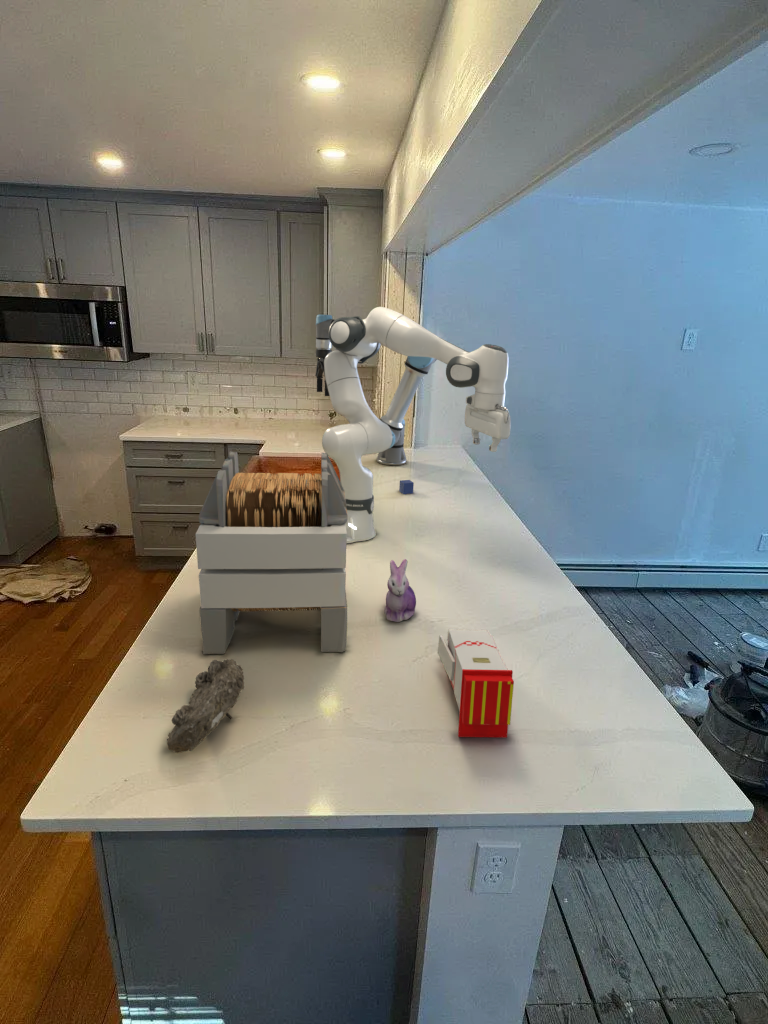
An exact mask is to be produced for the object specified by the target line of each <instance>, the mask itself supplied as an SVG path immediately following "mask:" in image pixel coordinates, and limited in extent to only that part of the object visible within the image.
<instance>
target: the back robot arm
mask: <svg viewBox="0 0 768 1024" xmlns="http://www.w3.org/2000/svg"><path fill="white" fill-rule="evenodd" d="M335 320H336V319H333V315H332V314H317V315H316V318H315V348H316V349H315V357H316V358H317V359H316V360H317V361H316V362H317V363H316V367H315V374H314V375H315V377H316V393H323V385H324V397H330V395H329V391H328V387H327V383H326V378H325V370H324V359H325V357H326V356H327V355H328V354H329V353H330V352H332V351H333V350H332V347H333V345H332V344H331V342H330V340H329V337H328V332H329V328H330V326H331V324H332V323H333V322H334V321H335ZM381 346H383V347H384V348H387V347H386V346H384V345H382V344H381ZM404 361H405V362H404V367H405V369H404V372H403V374H402V377H401V378H400V381H399V382H398V385H397V387H396V390H395V393H394V395H393V397H392V399H391V401H390V403H389V406H388V408H387V410H386V413H385V414H383V415H381V416H380V418H379V419H380V420H381V421H382V422H384V423H386V424H387V425H388V426H389V427H390V429H391V431H392V436H393V439H392V444H391V446H390V447H389V448H388V449H387V450H385V451H382V452H380V453H377V456H376V463H378V464H380V465H383V466H395V467H396V466H403V465H406V464H407V455H406V451H405V447H404V446H405V429H406V428H405V427H406V420H405V419H404V418H405V416H406V414H407V412H408V410H409V408H410V405H411V404H412V401H413V399H414V397H415V394H416V392H417V390H418V388H419V386H420V384H421V382H422V379H423V377H425V376H428V374H429V372H430V370H431V367H432V365H433V364H434V363H435V362H436V361H437V359H434V358H430V357H419V356H406V359H405V360H404ZM323 379H324V382H323ZM323 383H324V384H323Z"/></svg>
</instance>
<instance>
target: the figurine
mask: <svg viewBox="0 0 768 1024" xmlns="http://www.w3.org/2000/svg"><path fill="white" fill-rule="evenodd" d="M407 567H408V559H406V558H404V559H403V560H402V561H401V563H400V565H399V566H398V565H397V563H396V562H395V561H394V560H393V559H391V560H390V561H389V570H390V576H389V578H388V579H387V589H388V591H387V592H386V594H385V595H386V596H385V607H384V615H385V616H386V620H387V621H391V622H395V623H400V622H402V621H406V620H409V619H410V618H411V617H413V616H414V615H415V610H416V606H417V597H416V593H415V591H414V590H413V587H411V586H410V582H409V579H408V577H407V574H406V571H407Z"/></svg>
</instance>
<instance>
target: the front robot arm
mask: <svg viewBox="0 0 768 1024" xmlns="http://www.w3.org/2000/svg"><path fill="white" fill-rule="evenodd" d="M334 320H335V321H334V322H333V323H332V324H331V326H330V328H329V332H328V337H329V340H330V342H331V344H332V347H334V348H335V350H332V352H330V353H329V354H328V355H327V356H326V357H325V359H324V370H325V376H324V379H325V378H326V383H327V387H328V391H329V395H330V396H329V398H330V403H331V407H332V409H333V411H334V412H335V413H336V414H337V415H340V416H341V417H344V418H345V419H346V421H347V422H348V423H344V424H337V425H335V426H332V427H329V428H327V429H325V431H324V432H323V435H322V437H321V447H322V449H323V452H324V453H327V454H328V457H329V459H332V461H333V462H334V463H335V465H336V466H337V470H338V472H339V480H340V482H341V484H342V487H343V489H344V491H345V499H346V506H347V514H348V519H347V523H345V524H346V532H347V541H346V544H352V543H357V542H365V541H368V540H372V539H373V538H375V537H376V535H377V532H376V528H375V523H374V513H373V512H374V509H375V496H374V474H373V472H372V471H371V469H369V468H368V467H366V466H364V465H363V463H362V457H364V456H370V455H371V456H372V455H378V453H380V452H382V451H385V450H387V449H388V448H389V447H390V446H391V444H392V439H393V436H392V431H391V429H390V427H389V426H388V425H387V424H386V423H384V422H382V421H381V420H380V418H379V417H377V415H376V414H375V412H373V410H372V409H371V407H370V406H369V403H368V402H367V400H366V397H365V393H364V390H363V386H362V383H361V379H360V375H359V370H358V364H359V365H360V364H361V365H363V364H364V363H366V361H367V360H369V359H371V358H373V357H374V356H375V355H377V353H378V352H379V351H380V349H381V346H382V345H384V346H383V347H385V346H386V347H385V348H387V349H389V350H391V351H392V352H394V353H397V354H398V355H403V356H405V357H407V356H419V357H430V358H434V359H437V360H438V361H440V362H441V363H443V364H445V365H446V367H445V376H446V379H447V381H448V383H449V384H450V385H451V386H453V387H455V388H459V389H465V388H471V387H473V388H474V389H475V390H474V394H472V395H467V396H466V397H465V404H466V406H465V410H464V426H465V428H469V429H471V430H470V431H471V436H472V444H473V445H481V438H480V435H479V434H480V433H481V434H483V435H486V436H489V437H491V441H492V442H491V444H489V446H488V449H489V450H488V451H489V452H492V453H497V451H498V446H499V444H500V443H501V440H508V439H509V438H510V435H511V421H512V420H511V415H510V412H509V409H508V408H507V406H505V399H506V383H507V380H508V374H509V353H508V351H507V350H506V348H504V347H502V346H499V345H496V344H491V343H484V344H482V345H481V346H480V347H478V348H476V349H474V350H472V351H469V350H465V348H464V349H463V348H461V347H459V346H457V345H455V344H454V343H451V342H450V341H448V340H445V339H443V338H441V337H440V336H438V335H436V334H435V333H433V332H432V331H430V330H429V329H427V328H425V327H424V326H423V325H421V324H419V323H418V322H416V321H414V320H413V319H411V318H410V317H408V316H407V315H405V314H403V313H400V312H399V311H396V310H394V309H391V308H388V307H386V306H385V307H384V306H377V307H374V308H373V309H371V311H369V313H368V314H367V316H366V317H365V318H364V319H363V318H362V317H360V315H355V316H343V317H338V318H336V319H334ZM381 344H382V345H381ZM437 360H436V361H437Z"/></svg>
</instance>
